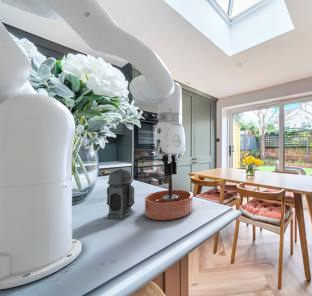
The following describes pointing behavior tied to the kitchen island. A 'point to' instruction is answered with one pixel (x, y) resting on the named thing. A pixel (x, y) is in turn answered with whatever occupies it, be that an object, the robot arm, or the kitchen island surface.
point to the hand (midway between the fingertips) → (170, 174)
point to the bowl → (168, 205)
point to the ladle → (170, 193)
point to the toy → (120, 194)
